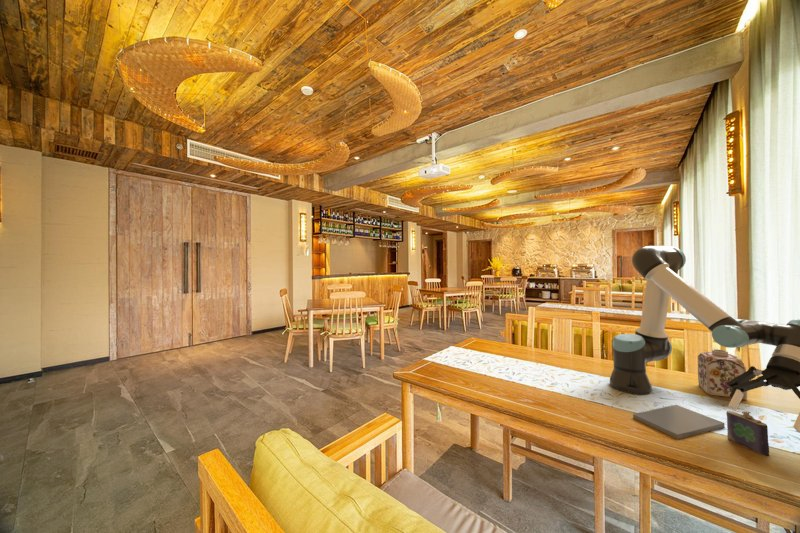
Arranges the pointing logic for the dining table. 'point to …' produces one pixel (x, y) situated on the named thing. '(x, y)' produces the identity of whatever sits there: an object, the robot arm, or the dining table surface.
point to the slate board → (678, 421)
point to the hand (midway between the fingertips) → (762, 418)
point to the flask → (748, 432)
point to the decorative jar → (719, 372)
